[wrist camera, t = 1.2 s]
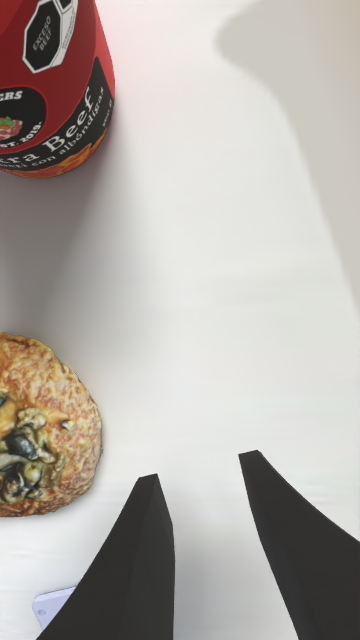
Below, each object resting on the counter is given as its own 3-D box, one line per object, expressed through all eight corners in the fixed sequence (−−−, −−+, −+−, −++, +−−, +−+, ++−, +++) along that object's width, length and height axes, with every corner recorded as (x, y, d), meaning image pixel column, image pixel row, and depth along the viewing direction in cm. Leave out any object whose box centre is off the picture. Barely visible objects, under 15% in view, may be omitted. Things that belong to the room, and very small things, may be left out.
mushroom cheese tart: (-112, 466, 19) (-199, 530, 14) (-37, 296, 19) (-100, 301, 14) (67, 524, 21) (46, 599, 16) (140, 371, 20) (141, 399, 15)
